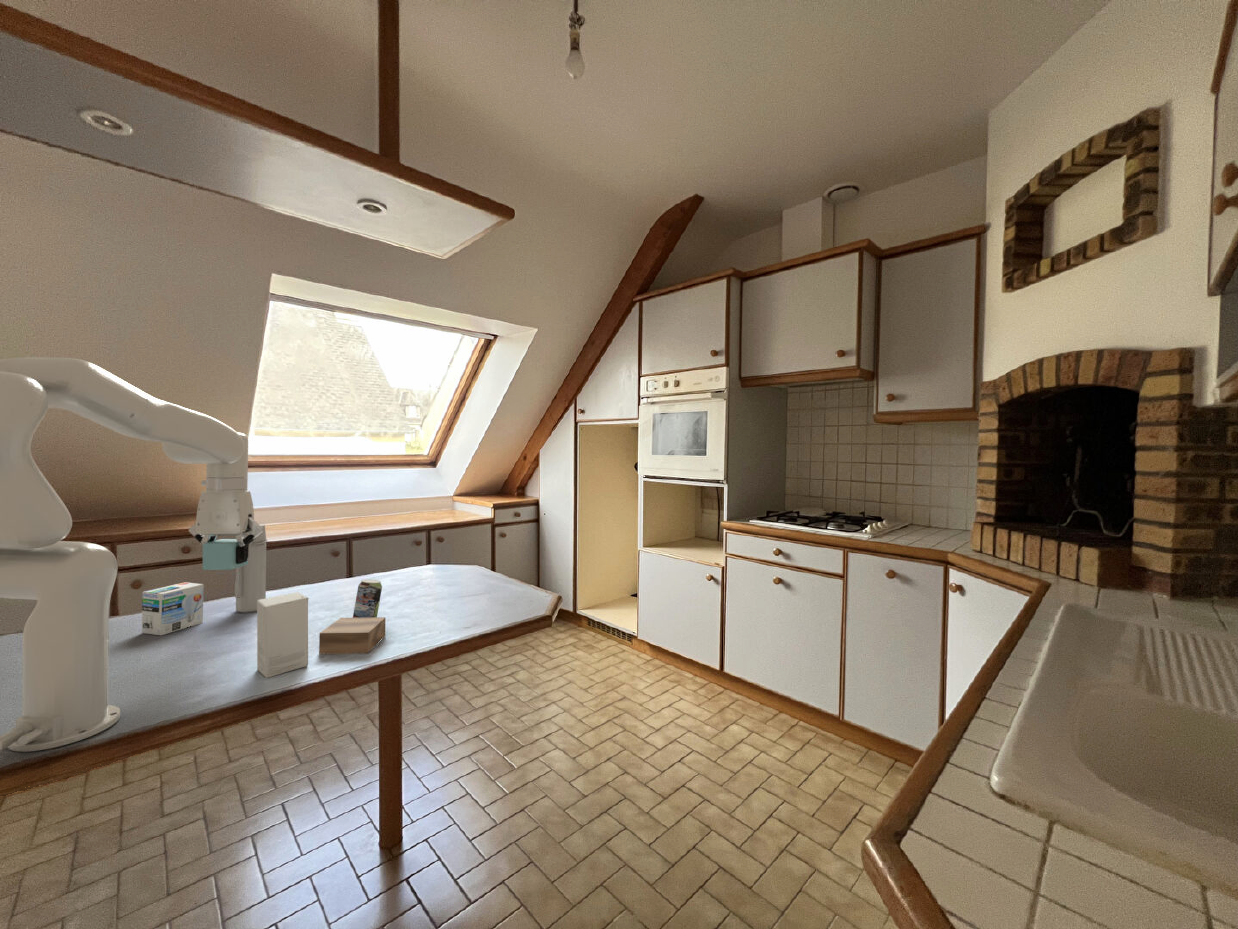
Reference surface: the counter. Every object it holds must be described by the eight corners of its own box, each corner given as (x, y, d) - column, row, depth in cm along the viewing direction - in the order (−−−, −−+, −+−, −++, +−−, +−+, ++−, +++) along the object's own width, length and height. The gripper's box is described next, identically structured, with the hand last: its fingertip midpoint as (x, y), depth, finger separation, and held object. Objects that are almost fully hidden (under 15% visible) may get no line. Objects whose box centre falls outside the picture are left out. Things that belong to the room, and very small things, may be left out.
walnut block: (368, 653, 116) (368, 632, 116) (319, 654, 115) (319, 633, 115) (385, 636, 127) (385, 617, 127) (340, 637, 126) (340, 617, 126)
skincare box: (298, 658, 113) (300, 591, 112) (309, 667, 108) (310, 597, 108) (254, 670, 106) (255, 598, 106) (264, 679, 102) (265, 605, 102)
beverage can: (347, 624, 135) (348, 581, 135) (371, 617, 142) (372, 576, 141) (362, 629, 132) (362, 584, 132) (386, 621, 139) (386, 579, 138)
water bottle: (247, 605, 149) (248, 523, 149) (272, 606, 149) (274, 524, 149) (222, 615, 140) (223, 528, 140) (248, 616, 140) (250, 529, 139)
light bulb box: (160, 636, 124) (161, 593, 124) (140, 633, 125) (140, 591, 125) (204, 622, 134) (205, 583, 134) (184, 620, 135) (185, 581, 135)
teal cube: (231, 569, 111) (231, 543, 111) (202, 569, 111) (202, 543, 111) (248, 564, 117) (248, 539, 117) (221, 564, 117) (221, 539, 117)
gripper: (173, 485, 109) (172, 566, 109) (257, 487, 111) (255, 566, 111) (198, 483, 116) (197, 559, 117) (276, 485, 118) (275, 559, 119)
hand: (226, 561), depth 114 cm, fingers closed on teal cube, 6 cm apart
